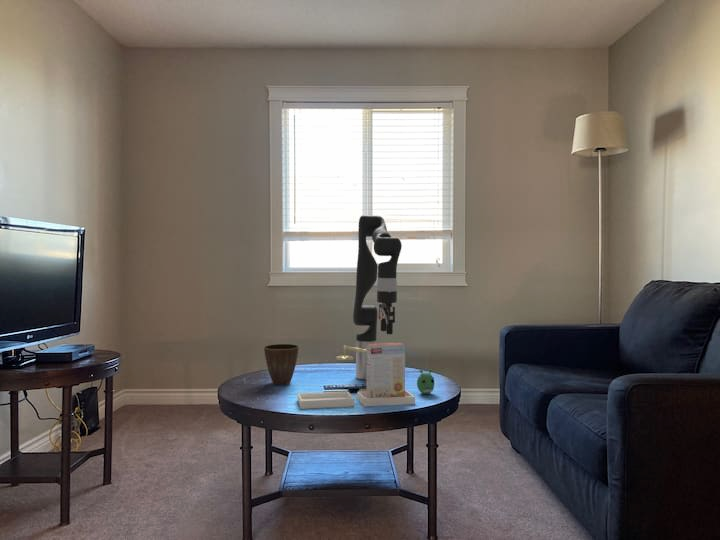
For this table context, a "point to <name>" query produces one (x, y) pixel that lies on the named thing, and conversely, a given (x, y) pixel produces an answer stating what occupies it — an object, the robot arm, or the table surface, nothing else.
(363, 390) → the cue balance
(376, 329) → the robot arm
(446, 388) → the table surface
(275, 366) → the plant pot
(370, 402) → the dish
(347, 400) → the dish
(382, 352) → the cracker box
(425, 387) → the alien toy
